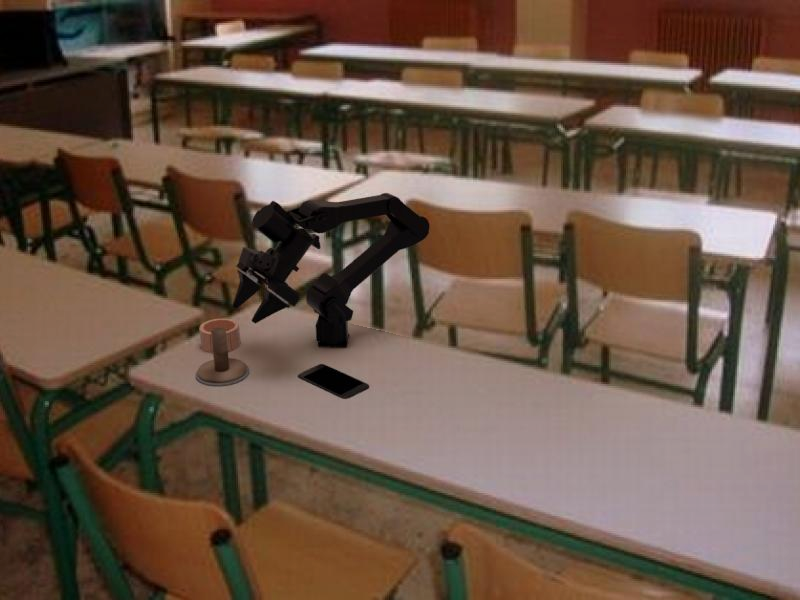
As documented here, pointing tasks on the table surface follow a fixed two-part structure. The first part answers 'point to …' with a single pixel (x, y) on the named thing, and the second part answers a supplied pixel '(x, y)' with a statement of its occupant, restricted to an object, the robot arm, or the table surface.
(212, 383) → the mat
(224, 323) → the bowl
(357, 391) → the smartphone
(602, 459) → the table surface
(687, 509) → the table surface
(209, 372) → the post with round base
